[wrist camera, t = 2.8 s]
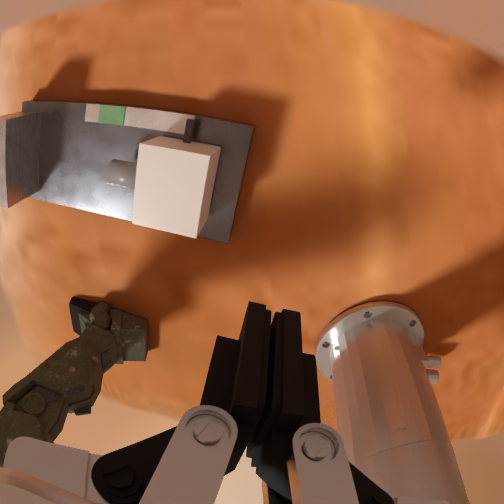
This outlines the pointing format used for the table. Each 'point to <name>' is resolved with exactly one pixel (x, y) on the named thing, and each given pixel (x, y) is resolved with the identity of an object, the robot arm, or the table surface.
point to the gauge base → (109, 156)
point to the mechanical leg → (71, 373)
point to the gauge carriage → (170, 182)
